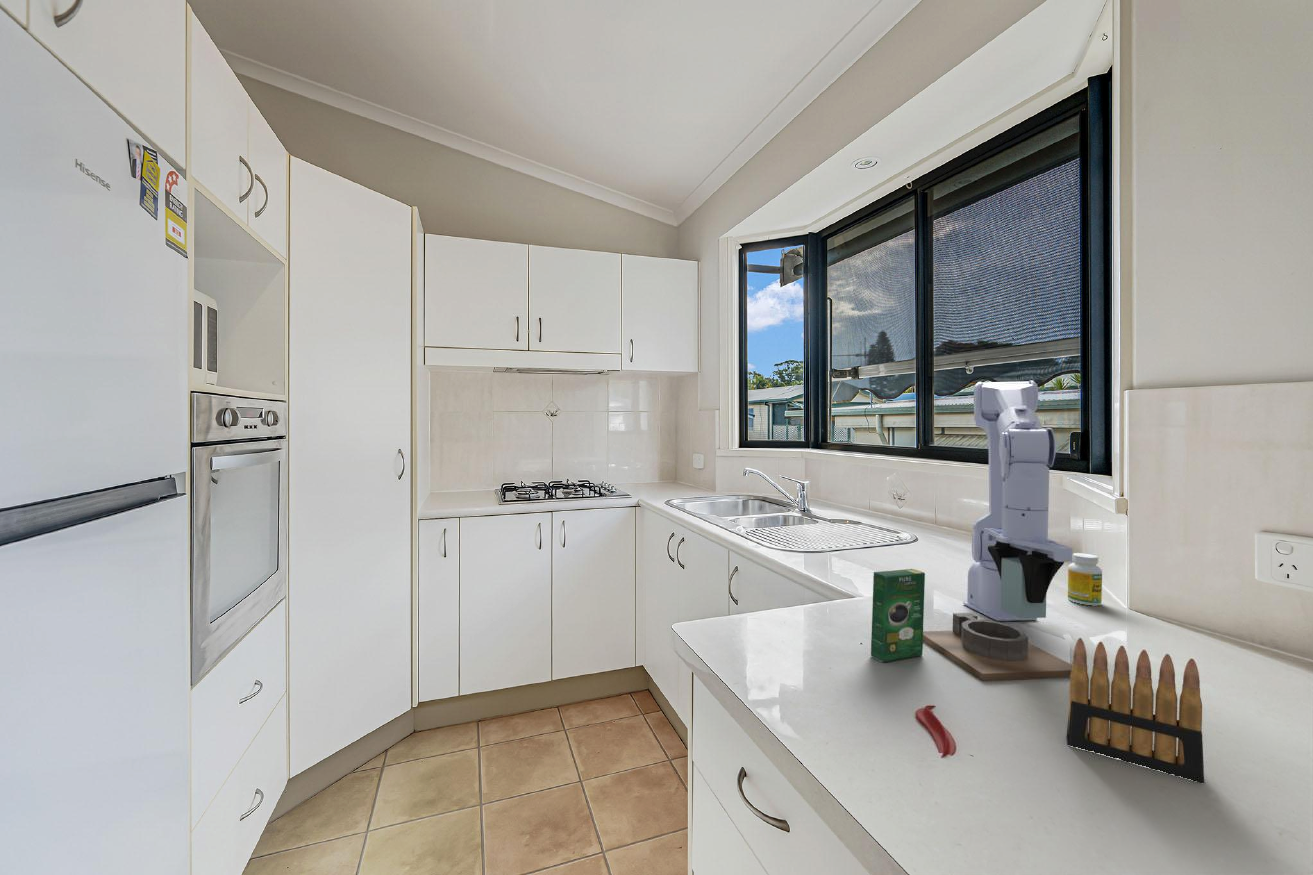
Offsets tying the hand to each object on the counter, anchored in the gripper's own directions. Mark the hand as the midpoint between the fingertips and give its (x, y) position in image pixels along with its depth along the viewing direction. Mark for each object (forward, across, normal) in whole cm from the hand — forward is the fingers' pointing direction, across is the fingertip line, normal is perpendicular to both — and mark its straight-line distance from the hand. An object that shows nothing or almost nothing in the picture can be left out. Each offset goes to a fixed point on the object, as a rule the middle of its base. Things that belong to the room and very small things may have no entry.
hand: (1022, 597), depth 80 cm
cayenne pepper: (+10, +16, -25) cm, 32 cm away
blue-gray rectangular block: (+2, 0, 0) cm, 2 cm away
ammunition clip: (+10, +24, -8) cm, 27 cm away
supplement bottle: (+10, -23, +34) cm, 42 cm away
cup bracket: (+9, -1, -4) cm, 10 cm away
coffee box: (+10, -2, -18) cm, 21 cm away
